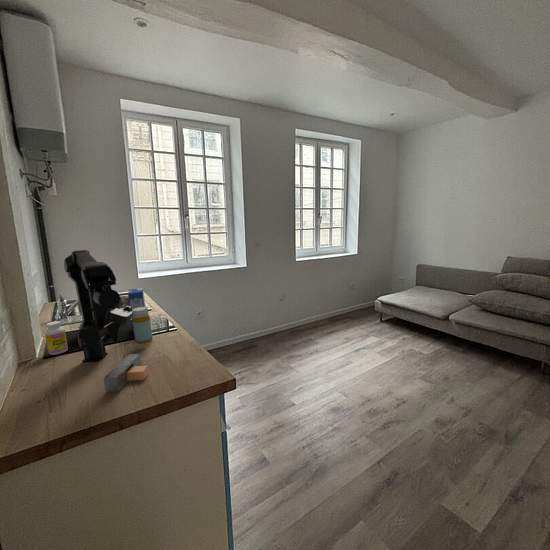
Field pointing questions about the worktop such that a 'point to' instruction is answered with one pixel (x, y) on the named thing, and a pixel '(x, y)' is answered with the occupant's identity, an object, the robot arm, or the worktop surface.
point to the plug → (137, 373)
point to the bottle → (142, 325)
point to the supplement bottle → (56, 338)
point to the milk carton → (136, 299)
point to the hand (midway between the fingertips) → (108, 348)
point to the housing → (120, 373)
